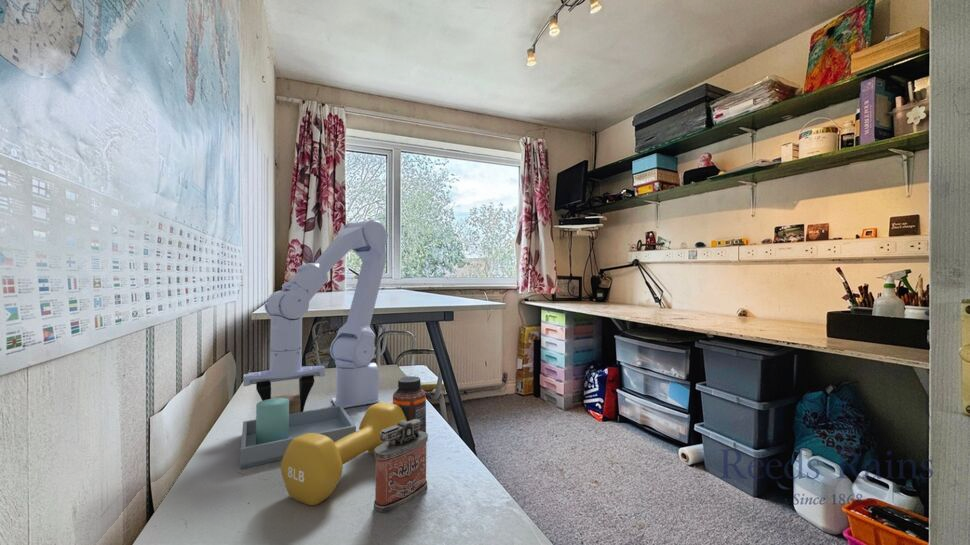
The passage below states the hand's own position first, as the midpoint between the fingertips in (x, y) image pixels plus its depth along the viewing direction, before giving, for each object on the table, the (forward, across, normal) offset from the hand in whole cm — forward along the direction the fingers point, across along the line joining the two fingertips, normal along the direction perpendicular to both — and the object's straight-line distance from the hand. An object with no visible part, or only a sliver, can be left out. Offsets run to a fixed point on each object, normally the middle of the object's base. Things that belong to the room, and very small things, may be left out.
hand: (285, 415), depth 75 cm
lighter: (+2, -12, +38) cm, 39 cm away
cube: (+1, 0, 0) cm, 1 cm away
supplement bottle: (+2, -18, +22) cm, 28 cm away
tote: (+2, -2, +10) cm, 11 cm away
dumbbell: (+2, -7, +27) cm, 28 cm away
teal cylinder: (+1, +3, +11) cm, 11 cm away
